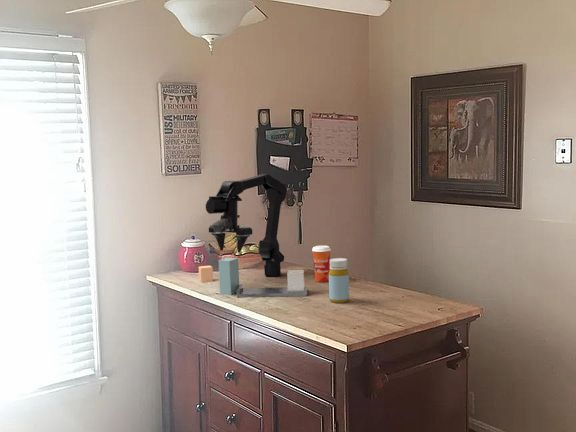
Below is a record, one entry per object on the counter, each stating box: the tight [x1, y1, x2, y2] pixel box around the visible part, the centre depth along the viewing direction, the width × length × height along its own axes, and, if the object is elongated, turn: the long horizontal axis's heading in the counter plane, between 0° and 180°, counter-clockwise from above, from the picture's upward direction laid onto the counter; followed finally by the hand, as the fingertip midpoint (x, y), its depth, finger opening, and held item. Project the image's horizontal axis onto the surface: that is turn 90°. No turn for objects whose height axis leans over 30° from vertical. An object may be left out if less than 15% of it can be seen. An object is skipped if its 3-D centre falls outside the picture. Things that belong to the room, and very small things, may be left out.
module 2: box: [218, 257, 240, 296], centre depth 265 cm, size 6×5×13 cm
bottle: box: [328, 257, 350, 304], centre depth 246 cm, size 7×7×15 cm
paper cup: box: [311, 245, 332, 283], centre depth 279 cm, size 8×8×14 cm
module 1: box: [198, 265, 214, 284], centre depth 287 cm, size 5×4×6 cm
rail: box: [236, 269, 308, 298], centre depth 261 cm, size 26×10×8 cm, turn 87°
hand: (230, 251), depth 277 cm, fingers open, 9 cm apart
